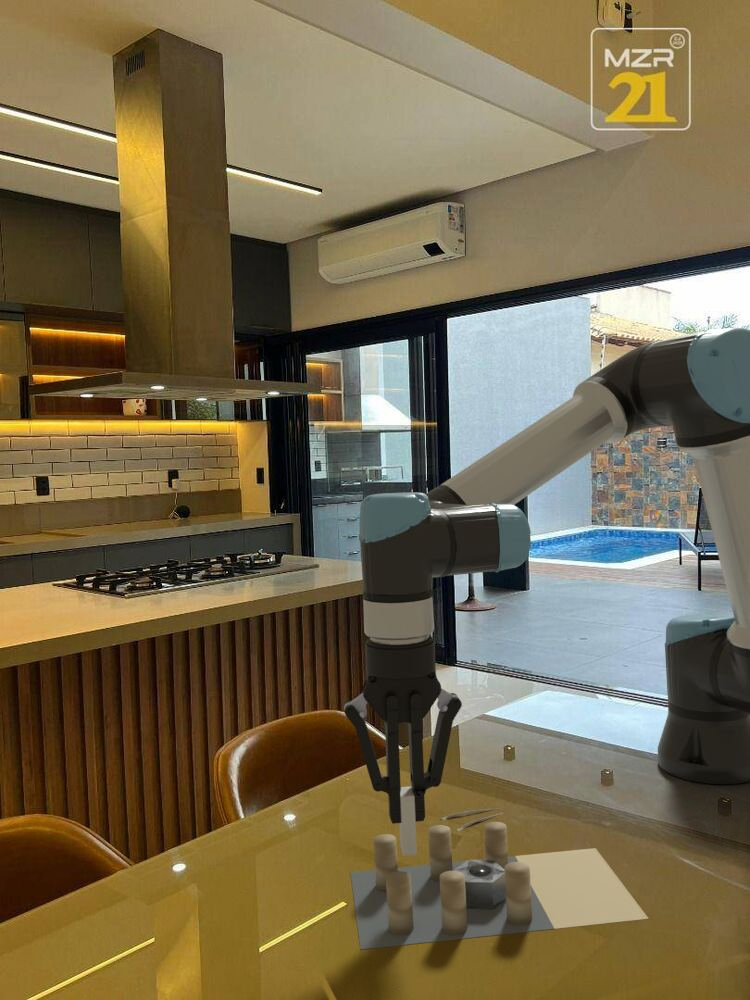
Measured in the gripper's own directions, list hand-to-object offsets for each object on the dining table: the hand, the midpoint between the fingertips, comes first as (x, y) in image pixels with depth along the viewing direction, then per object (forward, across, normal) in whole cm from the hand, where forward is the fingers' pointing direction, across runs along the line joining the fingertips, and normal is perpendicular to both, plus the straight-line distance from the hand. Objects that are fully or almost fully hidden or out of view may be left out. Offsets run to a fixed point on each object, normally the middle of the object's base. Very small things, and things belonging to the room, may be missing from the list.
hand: (408, 849), depth 95 cm
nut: (+6, -8, 0) cm, 10 cm away
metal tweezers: (+7, -15, -22) cm, 27 cm away
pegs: (+6, -4, 0) cm, 8 cm away
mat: (+7, -9, -1) cm, 11 cm away
